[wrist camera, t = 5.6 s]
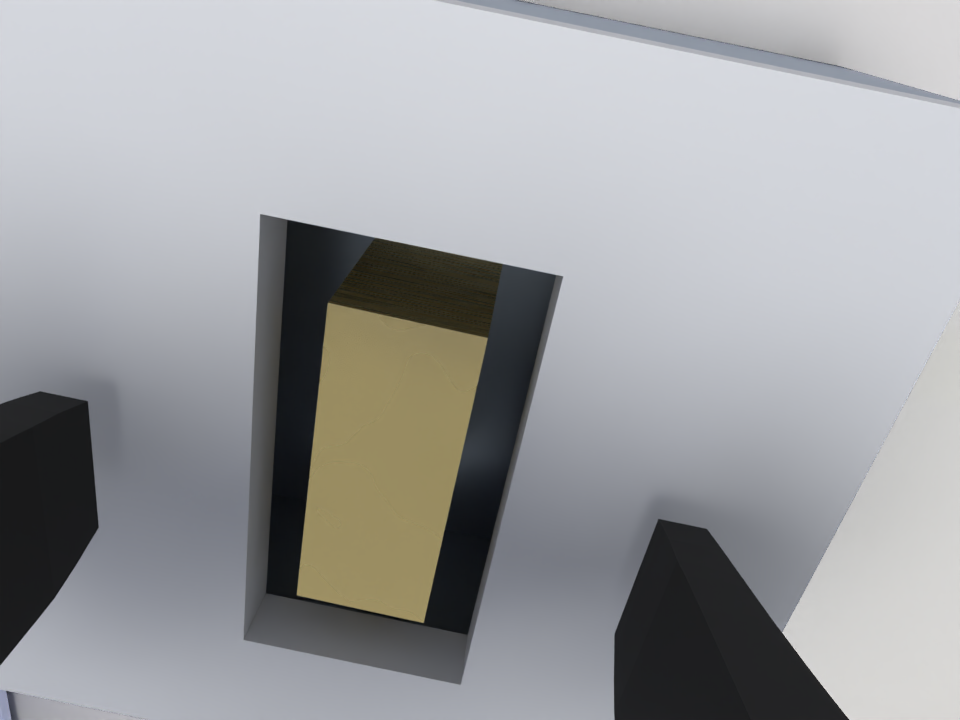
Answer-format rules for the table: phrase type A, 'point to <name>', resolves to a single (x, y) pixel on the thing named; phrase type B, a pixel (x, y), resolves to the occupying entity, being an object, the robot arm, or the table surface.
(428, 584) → the block
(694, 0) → the table surface
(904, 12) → the table surface
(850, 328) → the coin box
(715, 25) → the table surface
